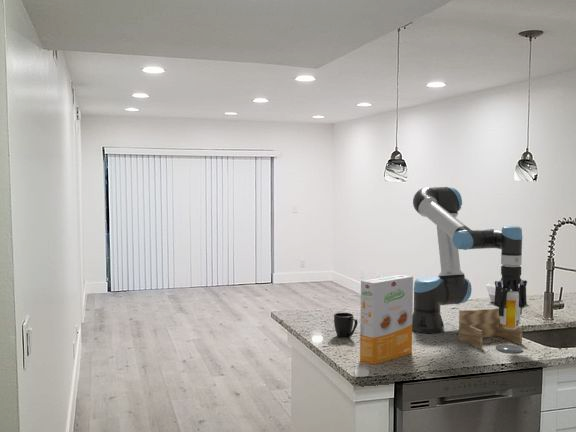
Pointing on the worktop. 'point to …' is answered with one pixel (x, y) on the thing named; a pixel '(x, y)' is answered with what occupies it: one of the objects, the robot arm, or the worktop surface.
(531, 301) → the worktop surface
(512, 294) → the beer can
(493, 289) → the bowl
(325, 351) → the worktop surface
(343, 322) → the mug
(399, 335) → the cereal box
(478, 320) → the shelf bay
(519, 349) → the coaster
